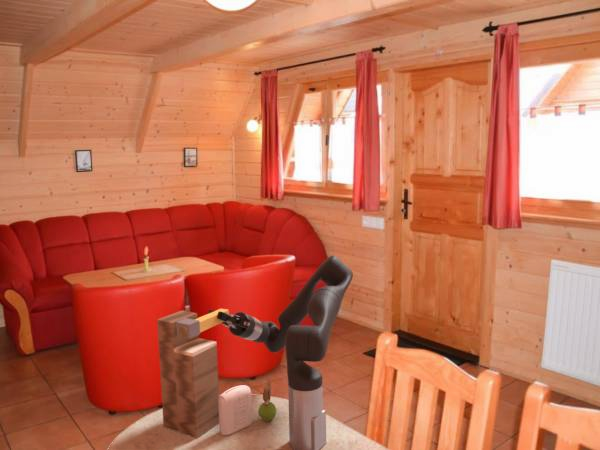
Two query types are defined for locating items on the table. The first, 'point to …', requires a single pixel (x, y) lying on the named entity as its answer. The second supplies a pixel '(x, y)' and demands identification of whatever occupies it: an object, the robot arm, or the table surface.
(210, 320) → the bar
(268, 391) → the green bud vase
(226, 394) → the pink rounded block
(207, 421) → the step stand
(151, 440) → the table surface
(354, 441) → the table surface
